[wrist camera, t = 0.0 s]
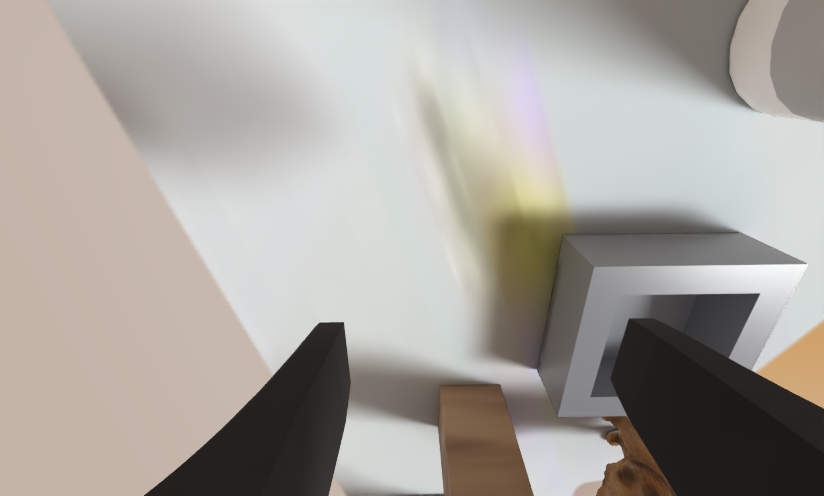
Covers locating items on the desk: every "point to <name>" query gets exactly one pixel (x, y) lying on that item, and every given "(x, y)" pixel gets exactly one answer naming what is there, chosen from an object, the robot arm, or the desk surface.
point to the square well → (656, 305)
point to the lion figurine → (632, 465)
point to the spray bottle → (780, 58)
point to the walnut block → (479, 443)
